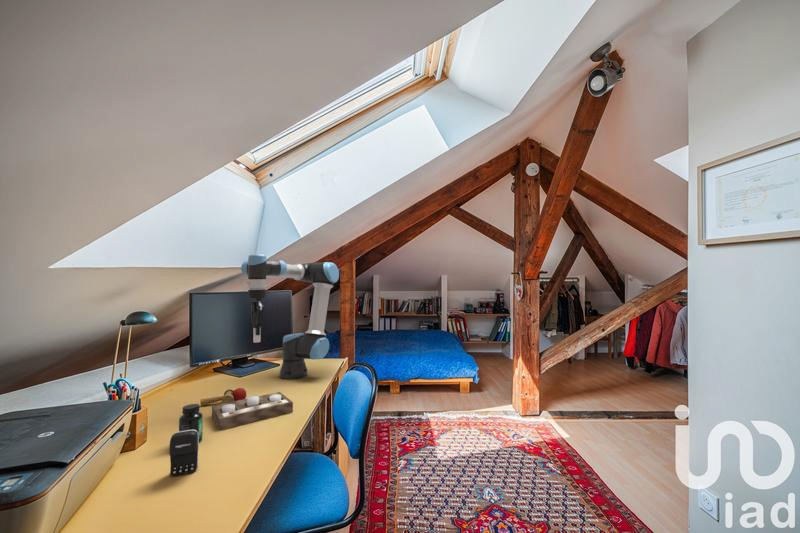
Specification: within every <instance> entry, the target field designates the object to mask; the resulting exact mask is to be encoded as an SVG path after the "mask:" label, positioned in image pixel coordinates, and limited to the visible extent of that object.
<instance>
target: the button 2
mask: <svg viewBox="0 0 800 533" xmlns="http://www.w3.org/2000/svg"><path fill="white" fill-rule="evenodd" d="M280 400H281V395H280V394H274V395H271V396H270V402H275V401H280Z"/></svg>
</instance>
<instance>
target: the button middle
mask: <svg viewBox="0 0 800 533" xmlns="http://www.w3.org/2000/svg"><path fill="white" fill-rule="evenodd" d="M259 396H260V395H251V396H247V397H246V399H247V408H248V407H253V406H257V405H259Z"/></svg>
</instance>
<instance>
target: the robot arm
mask: <svg viewBox="0 0 800 533" xmlns="http://www.w3.org/2000/svg"><path fill="white" fill-rule="evenodd" d="M240 266H241V267H240V271H241V273H242V274H243V275H244V276H247V279H248V280H247V281H246V284H247V287H248V290H247V297H248V299H252V300H251V301H252V302H251V303H250V304H249V306H250V314H251V315H250V316H251V326H252V328H253V329H252V330H253V333H252V334H253V337H252V338H253V340H252V341H253V343H261V342H262V341H261V335H262V334H261V332H262V329H261V327H263V323H264V322H263V321H264V309H265V305H264V302H263V299H264V298H266V297H267V290H266V288H267V278H268V277H269V278H284V279H285V278H286V279H287V278H288V279H293V280H295V281H302V282H307V283H312V285H313V287H314V290H313V297H312V303H311V304H312V305H311V311H310V316H309V323H308V329H307V330H306V331H304V332H299V333H298V332H296V333H290V334H286V335H284V336H283V338H282V363H281V367H280V368H279V369H280V370H279V373H278V374H279V378H280V379H282V380H283V379H284V380H295V378H296V379H300V378H304V377H306V376H307V375H308V371H309V370H308V367H307V364H306V362H305V359H311V360H321V359H324V358H325V356H326V355H327V354H328V352H329V349H330V341H329V339H328V338H327V334H326V333H325V327H326V320H327V313H328V305H329V300H330V293H331V289H332V288H334V284H335V283H337V282H338V281H339V279H340V278H339V277H340V271H339V268H338V266H337V265H336V264H335V263H334V262H330V261H329V262H328V261H325V262H307V263H295V264H288V263H286V262H285V261H284V260H279V259H267V255H266V254H259V253H258V254H257V253H256V254H250V255H248V260H245V261H243V263H242V264H241V265H240Z"/></svg>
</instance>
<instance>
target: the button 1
mask: <svg viewBox="0 0 800 533" xmlns="http://www.w3.org/2000/svg"><path fill="white" fill-rule="evenodd" d="M231 411H235V404H227V405H224V406H222V413H226V412H231Z"/></svg>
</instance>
